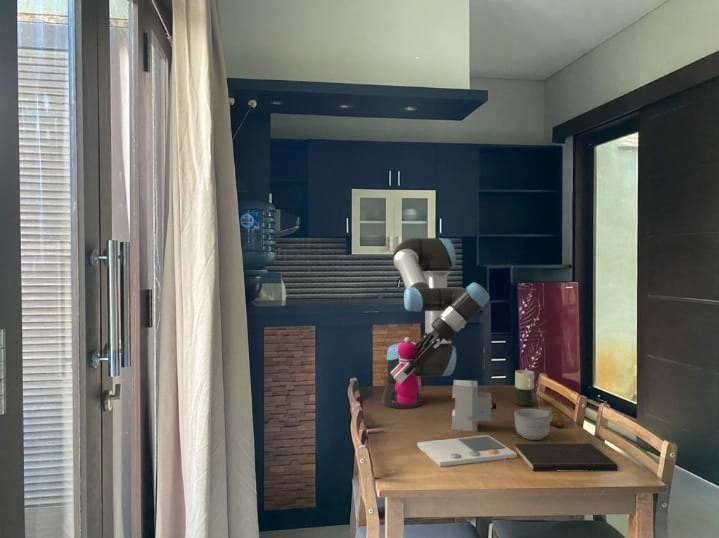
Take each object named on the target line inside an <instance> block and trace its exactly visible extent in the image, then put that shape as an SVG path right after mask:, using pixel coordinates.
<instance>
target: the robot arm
mask: <svg viewBox="0 0 719 538" xmlns="http://www.w3.org/2000/svg"><path fill="white" fill-rule="evenodd" d="M455 250H456V249H455V246H454V244H453V242H452V241H451V240H450V239H449V238H443V237H418V238H417V237H412V238H407V239H405V240H403V241H402V242H400V243H399V244H398V245H397V246H396V247H395V248H394V251H393V255H392V261H393V265H394V267H395V269H397V270H398V272H399V273H400V275H401V279H402V281H403V283H404V286H405V288H406V289H405V290H404V294H403V302H404V308H405V310H406V311H409V312H424V313H425V314H424V318H425V319H424V320H425V321H424V327H425V330H424V331H425V332H424V334H423V336H422V337H421V338H420V339H419V340H418V341H417V342H414V341H410V342H411V343H413V344H414V345H415V346H416V348H417V354H416V356H415V357H414V358H413V359H412V361H411V360H408V363H407V364H406V365H405V366H404V367H403V368H402V369H401V365H400V363H399V358H400V356H399V354H398V346H399V345H400V344H401V343H402V342H399V343H394V344H391V345H390V346H388V347H387V351H386V385H385V389H384V392H383V394H382V399H381V400H382V401H381V404H382V405H383V406H385V407H389V408H394V409H412V408H413V407H414V408H417V406H418V407H419V406H421V405H422V397H421V394H420V389H419V390H418V392H417V393H416V394H415V395H416V396H417V402H416V403H415V404H401V403H398V402H397V395H398V392H397V391H396V389H395V385H396V381H397V382H398V383H399V384H401V383H402V382H403V381H404V380H405V379H406V378H407V377H408V376H409V375H410V374H411V372H412V371H413V370H414V373H415V377H416V379H417V380H418V377H440V378H441V377H444V376H445V377H446V376H447V377H448V376H451V375H452V374H453V373H454V371H455V369H456V365H457V364H456V363H457V349H456V347H455V346H454V345H452V341H451V340H452V339H453V338H454V337H455V336H456V332H457V333H458V332H459V331H461V329H465V325H466V324H467V323H468V322H469V321H470V320H471V319H472V318H473V317H474V316H476V314H477V313H478V312H479V311H480V310H482V308H484V307H485V305H486V304H487V303H488V302H489V300H490V294H489V293H488V292H487V291H486V289H485V288H484V287H483V286H482V285H480V284H479V283H477V282H473V281H472V283H470V284H469V285H468V286H466V288H465V287H464V288H463V287H461V286H454V287H448V276H449V275H450V273H451V271H452V268H455V266H456V261H457V260H456V251H455ZM400 369H401V370H400ZM414 408H413V409H414Z"/></svg>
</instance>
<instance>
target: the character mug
mask: <svg viewBox="0 0 719 538" xmlns="http://www.w3.org/2000/svg"><path fill="white" fill-rule="evenodd" d="M534 380H535V372H534V371H533V370H526V369H518V370H517V369H516V370H515V372H514V387H515V388H516V389H517V392H516V393H517V394H516V398H515V399H516V400H515V404H516V405H519V406H525V407H527V406H533V403H534V402H533V394H532V390H533V389H535V383H534V382H535V381H534Z"/></svg>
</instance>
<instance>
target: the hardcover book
mask: <svg viewBox="0 0 719 538" xmlns="http://www.w3.org/2000/svg"><path fill="white" fill-rule="evenodd" d="M514 446H515V452H516V453H518V454H519V455H520V457H521V456H522V457H521V458H522V459H523V460H524V462H525V463H526V464H527V465H528V466H529V468H530V469H532V471H533V472H558V471H557V470H588V471H587V472H608V471H609V472H614V471H615V472H618V469H619V468H618V467H619V466H618V463H616V462H615V461H614V460H612V459H611V458H610V457H608V455H606V454H604V453H603V451H601V450H599V449H598V448H597V447H596V446H594V445H593V444H592V443H514ZM591 470H593V471H591Z"/></svg>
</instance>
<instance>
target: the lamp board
mask: <svg viewBox="0 0 719 538" xmlns="http://www.w3.org/2000/svg"><path fill="white" fill-rule="evenodd" d="M417 447H418V448H419V449H420V450H421V451H422V452H423V453H424V452H425V453H426V454H425V453H424V454H425V455H426V456H428V458H430V459H431V460H432V461H433V462H434V463H435V464H436V465H438V466H439V467H440V468H441V467H448V466H455V465H464V464H473V463H474V464H475V463H482V462H488V461H489V462H490V461H499V460H500V461H501V460H507V458H509V459H516V458H518V456H517V455H518V454H517V453H518V452H516V451H513V450H512V449H511V448H510V447H507V446H506V445H504V444H502V443H501V442H499V441H498V440H496V439H495V438H493V437H492V436H490V435H489V434H488V435H475V436H466V437H457V438H448V439H438V440H437V439H436V440H427V441H420V442H419V441H418V442H417Z"/></svg>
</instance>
